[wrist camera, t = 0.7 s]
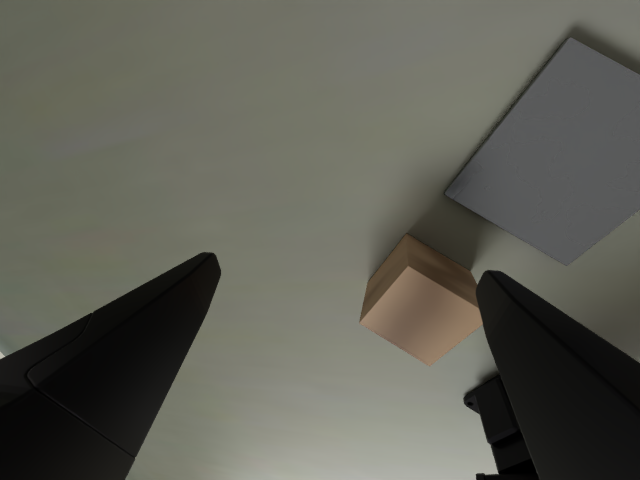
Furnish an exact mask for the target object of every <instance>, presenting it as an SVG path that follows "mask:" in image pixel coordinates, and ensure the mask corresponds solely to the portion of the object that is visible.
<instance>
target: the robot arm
mask: <svg viewBox="0 0 640 480" xmlns="http://www.w3.org/2000/svg"><path fill="white" fill-rule="evenodd" d="M220 276H221V269H220V266H219V263H218V260H217V257H216V255H215V254H214V253H210V252H202V253H200V254H198V255H196V256H195V257H193V258H191V259H189V260H187V261H185V262H184V263H182V264H180V265H178V266H176V267H174V268H172V269H171V270H169V271H167V272H165V273H163V274H161V275H160V276H158V277H156V278H154V279H152V280H150V281H149V282H147V283H145V284H143V285H141V286H139V287H138V288H136V289H134V290H132V291H130V292H128V293H127V294H125V295H123V296H121V297H119V298H117V299H116V300H114V301H112V302H110V303H108V304H106V305H105V306H103V307H101V308H99V309H97V310H95V311H94V312H93V313H90V314H88V315H86V316H84V317H83V318H81V319H79V320H77V321H75V322H73V323H71V324H70V325H68V326H66V327H64V328H62V329H60V330H58V331H56V332H54V333H52V334H50V335H48V336H46V337H44V338H42V339H40V340H38V341H36V342H34V343H32V344H30V345H28V346H26V347H24V348H22V349H20V350H18V351H16V352H14V353H12V354H10V355H8V356H6V357H4V358H2V359H0V480H125V479H126V477H127V475H128V473H129V471H130V469H131V467H132V465H133V463H134V461H135V457H136V456H137V454H138V452H139V450H140V448H141V446H142V444H143V442H144V440H145V438H146V436H147V434H148V432H149V430H150V428H151V426H152V424H153V422H154V420H155V418H156V416H157V414H158V412H159V410H160V408H161V405H162V403H163V401H164V399H165V397H166V395H167V393H168V391H169V389H170V387H171V385H172V383H173V381H174V379H175V377H176V375H177V373H178V371H179V369H180V367H181V365H182V363H183V361H184V359H185V357H186V355H187V353H188V351H189V349H190V347H191V345H192V343H193V341H194V339H195V337H196V335H197V333H198V331H199V329H200V327H201V325H202V322H203V320H204V318H205V316H206V314H207V312H208V309H209V307H210V304H211V301H212V298H213V296H214V293H215V290H216V287H217V285H218V282H219V279H220ZM475 293H476V299H477V303H478V307H479V311H480V315H481V319H482V323H483V327H484V331H485V334H486V338H487V341H488V344H489V347H490V349H491V352H492V355H493V357H494V360H495V363H496V365H497V368H498V371H499V373H500V375H498V376H496V377H495V378H493V379H492V380H490V381H489V382H487V383H485V384H484V385H482V386H481V387H479V388H477V389H476V390H474V391H473V392H471V393H470V394H468V395H466V396H465V397H464V398H463V400H464V404H465V405H466V406H467V407H469V408H470V409H472V410H473V411H475V412H477V413H478V414H480V417H481V421H482V424H483V428H484V432H485V435H486V439H487V442H488V443H489V444H490V445H491V449H492V452H493V456H494V459H495V463H496V466H497V470H498V473H499V474H490V475H485V474H484V473H478V474H476V480H640V363H639V362H637V361H636V360H634V359H633V358H631V357H630V356H628V355H627V354H625V353H624V352H622V351H621V350H619V349H618V348H616V347H615V346H613V345H612V344H610V343H609V342H607V341H606V340H604V339H603V338H601V337H600V336H598V335H597V334H595V333H594V332H592V331H591V330H589V329H588V328H586V327H585V326H583V325H582V324H580V323H578V322H577V321H575V320H574V319H572V318H571V317H569V316H568V315H566V314H565V313H563V312H562V311H560V310H559V309H557V308H556V307H554V306H553V305H551V304H550V303H548V302H547V301H545V300H544V299H542V298H541V297H539V296H538V295H536V294H535V293H533V292H532V291H530V290H529V289H527V288H526V287H524V286H523V285H521V284H520V283H518V282H517V281H515V280H514V279H512V278H511V277H509V276H507V275H506V274H504V273H503V272H501V271H494V270H487V271H485V272H484V273H483V275H482V277H481V279H480V281H479V283H478V285H477V287H476V292H475Z"/></svg>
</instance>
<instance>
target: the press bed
mask: <svg viewBox="0 0 640 480" xmlns="http://www.w3.org/2000/svg"><path fill="white" fill-rule="evenodd" d="M444 195H446V196H448V197H450V198H451V199H453V200H455V201H456V202H458V203H460V204H461V205H463V206H465V207H467V208H468V209H470V210H472V211H473V212H475V213H477V214H479V215H480V216H482V217H484V218H485V219H487V220H489V221H491V222H492V223H494V224H496V225H497V226H499V227H501V228H503V229H504V230H506V231H508V232H509V233H511V234H513V235H515V236H516V237H518V238H520V239H521V240H523V241H525V242H527V243H528V244H530V245H532V246H533V247H535V248H537V249H538V250H540V251H542V252H544V253H545V254H547V255H549V256H550V257H552V258H554V259H556V260H557V261H559V262H561V263H562V264H564V265H566V266H567V265H569V264H570V263H571V262H572V261H574V260H575V259H576V258H578V257H579V256H580V255H581V254H583V253H584V252H585V251H587V250H588V249H589V248H590V247H592V246H593V245H594V244H596V243H597V242H598V241H599V240H601V239H602V238H603V237H605V236H606V235H607V234H609V233H610V232H611V231H612V230H614V229H615V228H616V227H618V226H619V225H620V224H621V223H623V222H624V221H625V220H627V219H628V218H629V217H630V216H632V215H633V214H634V213H636V212H637V211H638V210H640V75H639V74H637V73H636V72H634V71H632V70H630V69H628V68H626V67H625V66H623V65H621V64H619V63H617V62H615V61H614V60H612V59H610V58H608V57H606V56H604V55H602V54H601V53H599V52H597V51H595V50H593V49H591V48H590V47H588V46H586V45H584V44H582V43H580V42H579V41H577V40H575V39H573V38H571V37H569V38H567V39H566V40H565V41H564V42H563V43H562V45H561V46H560V47H559V48H558V50H557V51H556V52H555V53H554V55H553V56H552V57H551V58H550V60H549V61H548V62H547V63H546V65H545V66H544V67H543V69H542V70H541V71H540V72H539V74H538V75H537V76H536V77H535V79H534V80H533V81H532V82H531V84H530V85H529V86H528V87H527V89H526V90H525V91H524V92H523V94H522V95H521V96H520V97H519V99H518V100H517V101H516V102H515V104H514V105H513V106H512V107H511V109H510V110H509V111H508V112H507V114H506V115H505V116H504V118H503V119H502V120H501V121H500V123H499V124H498V125H497V126H496V128H495V129H494V130H493V131H492V133H491V134H490V135H489V136H488V138H487V139H486V140H485V141H484V143H483V144H482V145H481V146H480V148H479V149H478V150H477V151H476V153H475V154H474V155H473V156H472V158H471V159H470V160H469V161H468V163H467V164H466V165H465V167H464V168H463V169H462V170H461V172H460V173H459V174H458V175H457V177H456V178H455V179H454V180H453V182H452V183H451V184H450V185H449V187H448V188H447V189H446V190H445V192H444Z"/></svg>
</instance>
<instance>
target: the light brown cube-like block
mask: <svg viewBox="0 0 640 480" xmlns="http://www.w3.org/2000/svg"><path fill="white" fill-rule="evenodd" d="M476 287H477V283H476V281H475V279H474V277H473V275H472V273H471V271H469V270H467V269H466V268H464V267H462V266H461V265H459V264H457V263H455V262H454V261H452V260H450V259H449V258H447V257H445V256H444V255H442V254H440V253H439V252H437V251H435V250H434V249H432V248H430V247H429V246H427V245H425V244H424V243H422V242H420V241H418V240H417V239H415V238H413V237H412V236H410V235H408V234H407V233H406V234H405V236H404V237H403V238H402V240H401V241H400V242H399V243H398V245H397V246H396V247H395V248H394V250H393V251H392V252H391V254H390V255H389V256H388V257H387V259H386V260H385V261H384V263H383V264H382V265H381V266H380V268H379V269H378V270H377V271H376V273H375V274H374V275H373V277H372V278H371V279H370V280H369V282H368V283H367V288H366V293H365V297H364V302H363V307H362V312H361V317H360V321H359V323H360V324H361V325H363V326H365V327H366V328H368V329H370V330H371V331H373V332H374V333H376V334H378V335H379V336H381V337H383V338H384V339H386V340H387V341H389V342H391V343H392V344H394V345H396V346H397V347H399V348H400V349H402V350H404V351H405V352H407V353H409V354H410V355H412V356H413V357H415V358H417V359H418V360H420V361H422V362H423V363H425V364H426V365H428V366H431V365H432V364H433V363H434V362H436V361H437V360H438V359H439V358H441V357H442V356H443V355H444V354H446V353H447V352H448V351H450V350H451V349H452V348H453V347H455V346H456V345H457V344H458V343H460V342H461V341H462V340H463V339H465V338H466V337H467V336H468V335H470V334H471V333H472V332H473V331H475V330H476V329H477V328H478V327H480V326H481V325H482V324H483V323H482V319H481V315H480V311H479V307H478V303H477V299H476V293H475V292H476Z"/></svg>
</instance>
